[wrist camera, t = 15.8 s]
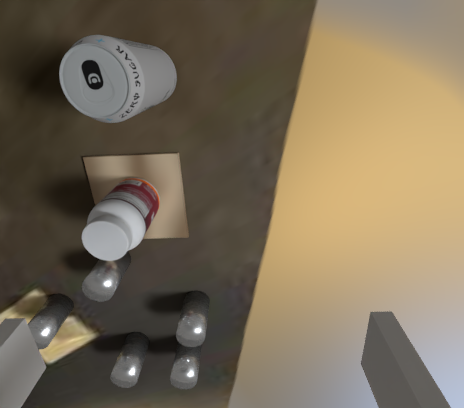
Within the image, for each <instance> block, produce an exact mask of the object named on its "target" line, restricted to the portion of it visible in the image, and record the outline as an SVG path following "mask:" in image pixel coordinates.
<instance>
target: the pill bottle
mask: <svg viewBox="0 0 464 408" xmlns="http://www.w3.org/2000/svg"><path fill="white" fill-rule="evenodd" d="M159 206H160V197H159V194H158V192H157V190H156V188H155V187H154V186H153V185H152V184H151V183H149V182H148V181H146V180H144V179H141V178H127V179H124V180H122V181H121V182H119V183H118V184H117V185H116V186H115V187H114V188H113V189H112V190H111V191H110V192H109V193H108V194H107V195H106V196H105V197H104V198H103V199H102V200H101V201H100V202H99V203H98V204H97V205H96V206H95V207H94V208H93V209H92V210H91V212H90V214H89V216H88V220H87V226H86V227H85V228H84V230H83V233H82V242H83V245H84V247H85V248H86V249H87V251H88V252H89V253H90V254H92V255H93V256H94V257H96V258H98V259H101V260H106V261H113V260H117V259H119V258H121V257H123V256H124V255H125V254H126V252H127V251H128V250H131V249H133V248H135V247H136V246H137V245H138V244H139V243H140V242H141V240H142V239H143V237H144V235H145V234H146V232H147V230H148V228H149V226H150V225H151V223H152V221H153V219H154V217H155V215H156V214H157V212H158V209H159Z"/></svg>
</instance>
